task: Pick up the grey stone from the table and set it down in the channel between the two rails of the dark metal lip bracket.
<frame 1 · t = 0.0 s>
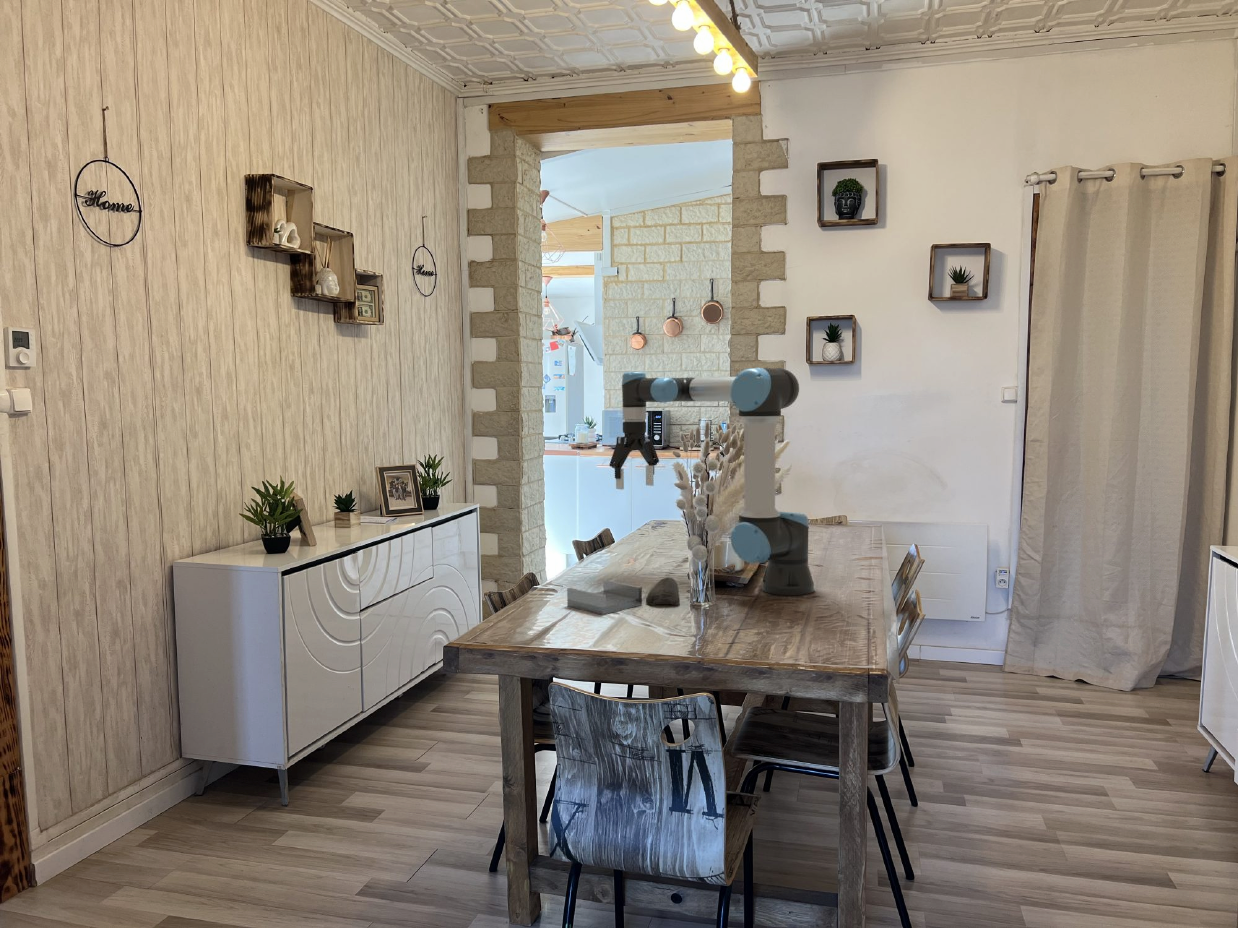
hand: (635, 487, 287), 28 cm above the table, fingers open, 13 cm apart
lip bracket: (604, 605, 248), on the table
stone: (664, 604, 250), on the table
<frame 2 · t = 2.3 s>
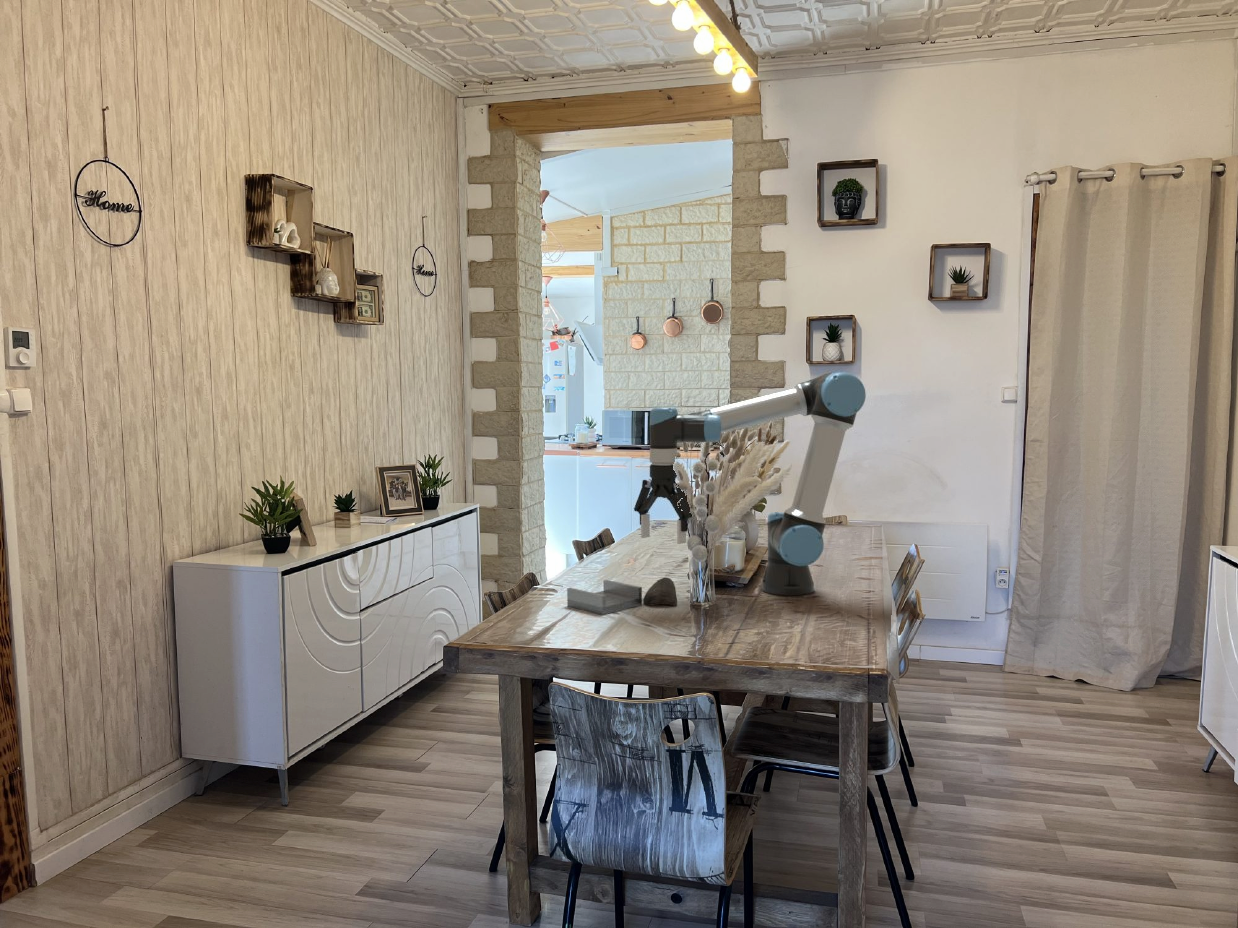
hand: (663, 540, 249), 18 cm above the table, fingers open, 13 cm apart
nothing on the table moved.
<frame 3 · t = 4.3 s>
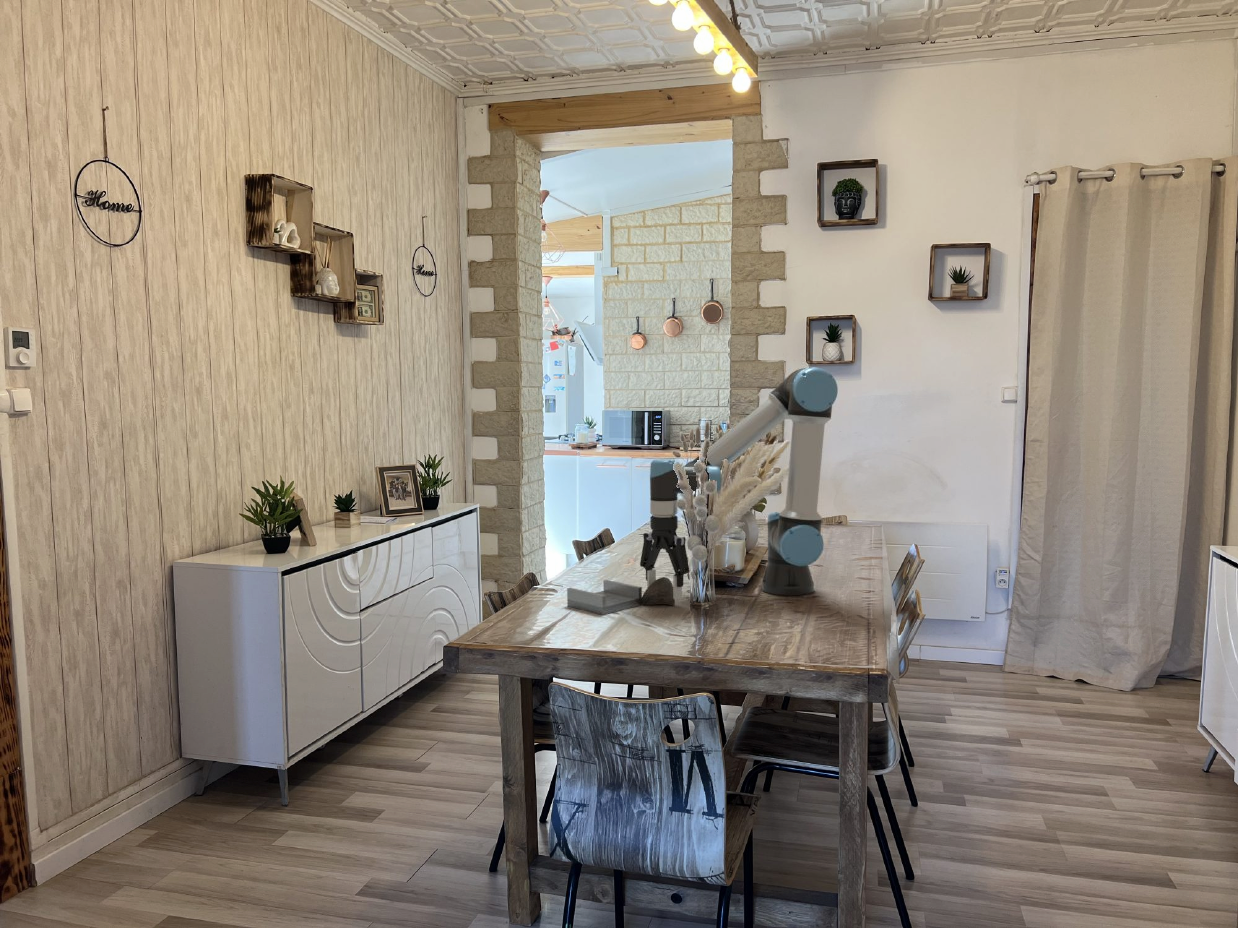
hand: (664, 595, 250), 2 cm above the table, fingers closed on stone, 9 cm apart
stone: (659, 604, 250), on the table, touching gripper
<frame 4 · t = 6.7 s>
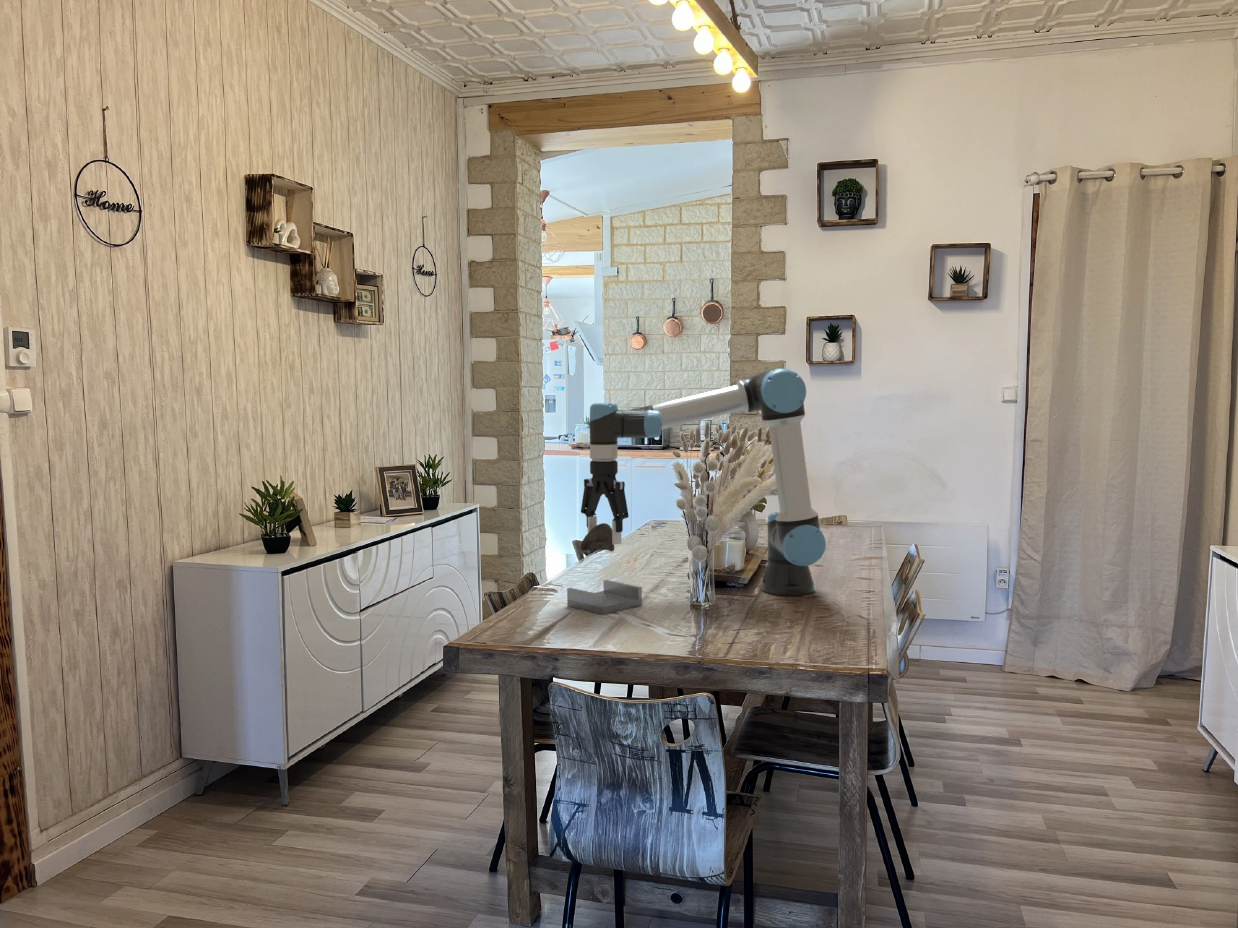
hand: (604, 541, 246), 18 cm above the table, fingers closed on stone, 9 cm apart
stone: (599, 550, 246), point 15 cm above the table, touching gripper
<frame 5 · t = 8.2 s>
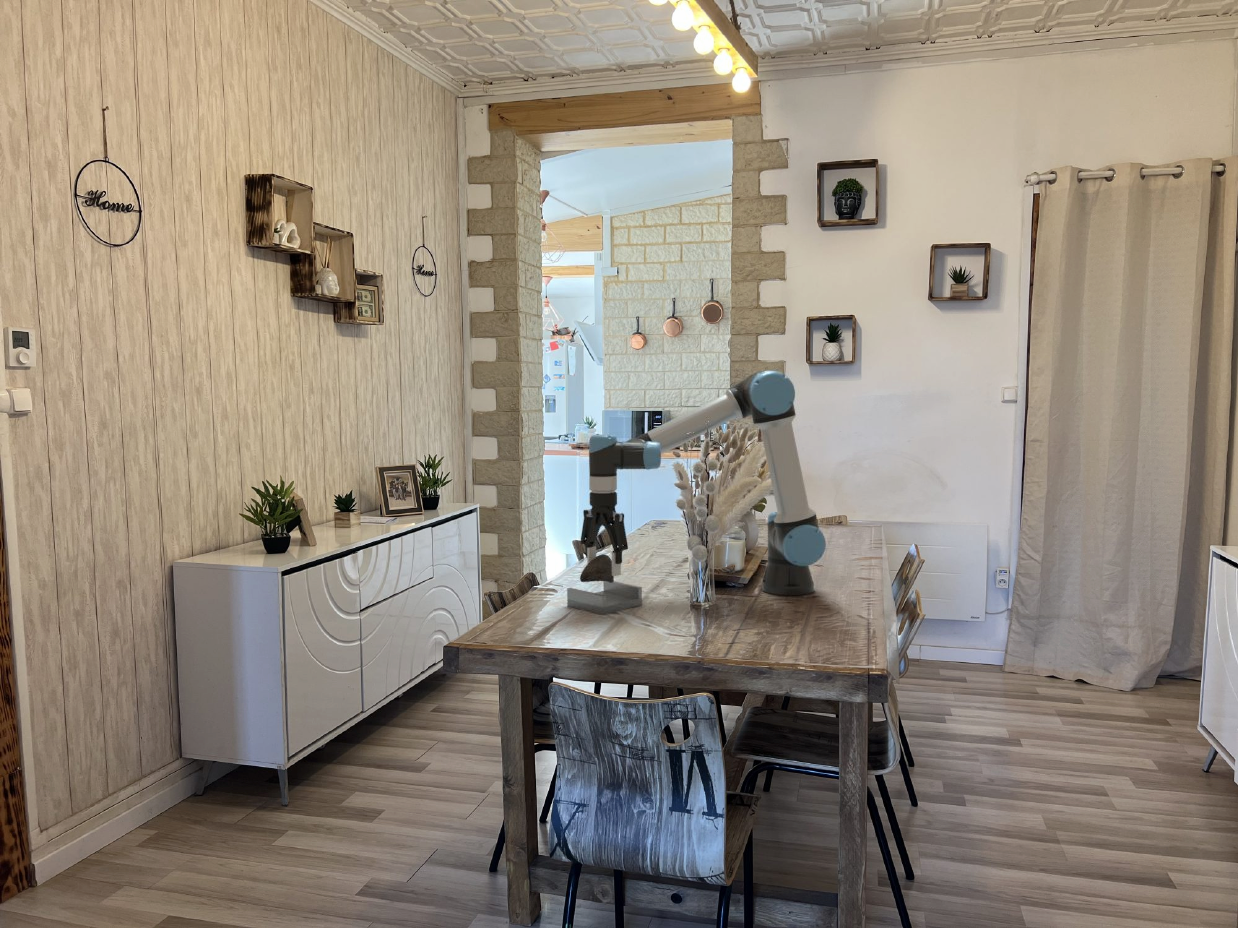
hand: (603, 572, 247), 9 cm above the table, fingers closed on stone, 9 cm apart
stone: (598, 581, 247), point 7 cm above the table, touching gripper
when the fingers open (6 cm above the table, at t = 9.4 s): stone stays where it is, resting on lip bracket.
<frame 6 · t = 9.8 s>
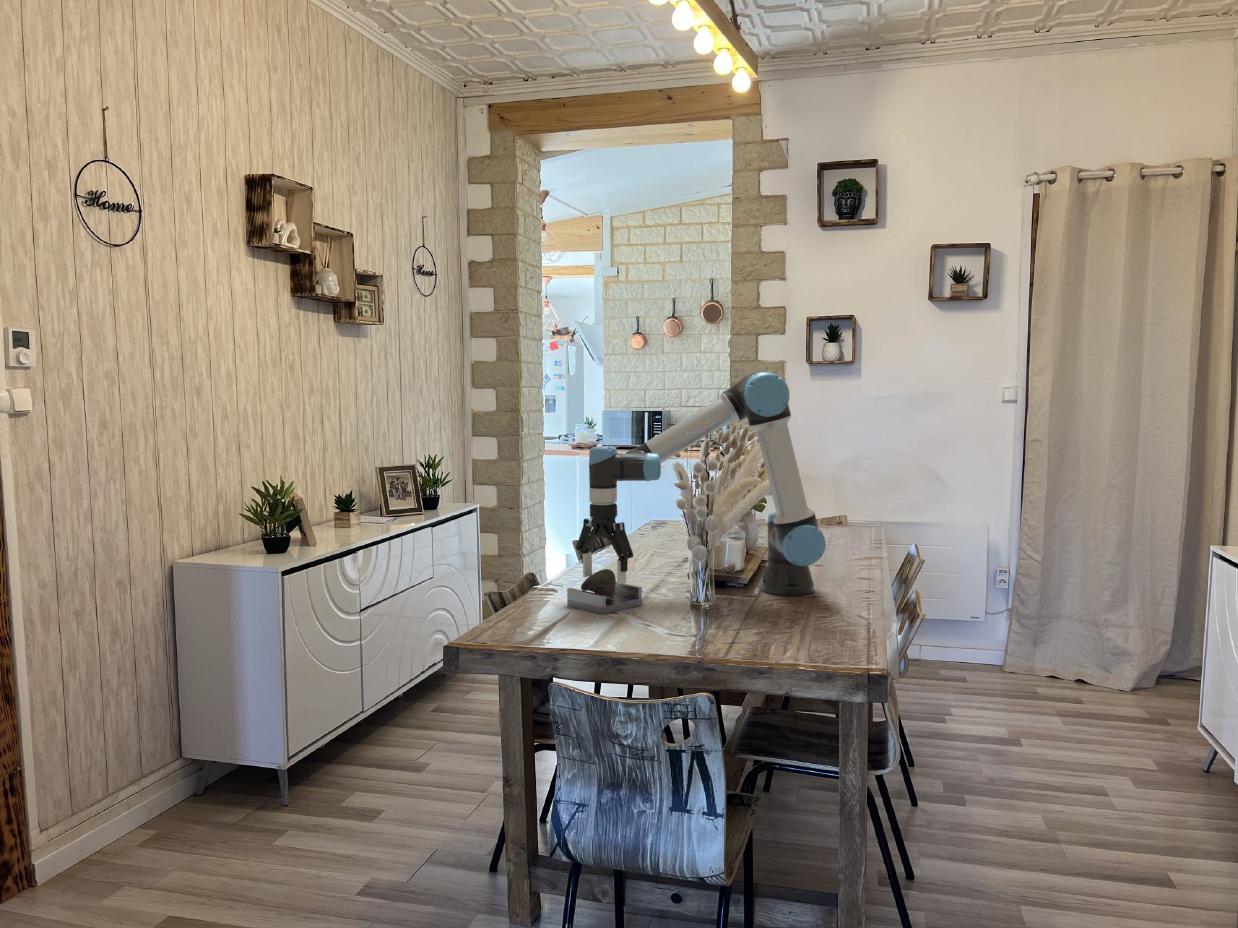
hand: (604, 579, 247), 7 cm above the table, fingers open, 13 cm apart
stone: (597, 594, 247), point 3 cm above the table, touching lip bracket
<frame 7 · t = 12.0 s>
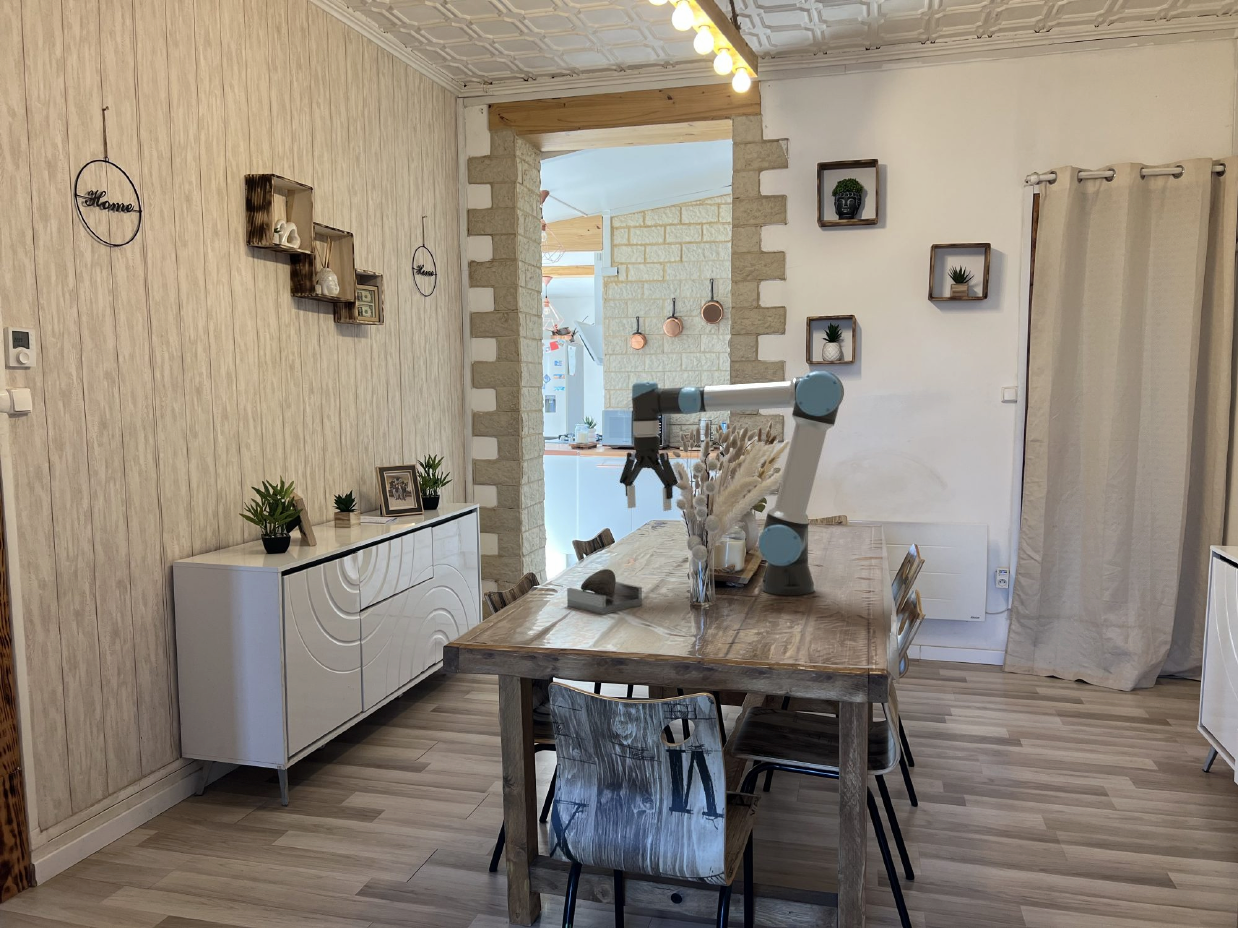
hand: (649, 509, 261), 25 cm above the table, fingers open, 13 cm apart
nothing on the table moved.
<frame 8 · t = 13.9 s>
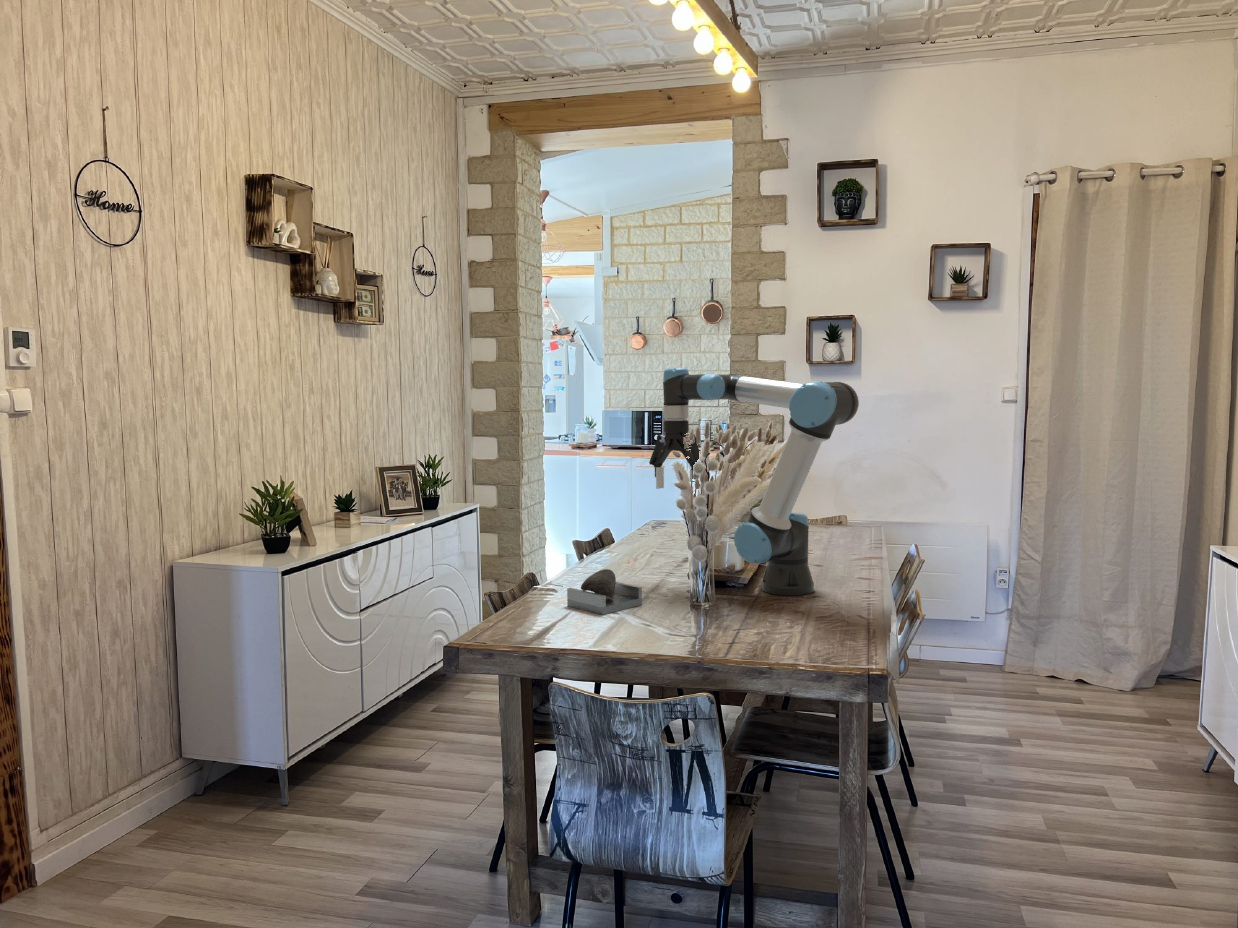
hand: (676, 490, 272), 29 cm above the table, fingers open, 13 cm apart
nothing on the table moved.
at the end: stone inside the target area on the lip bracket (1.9 cm from its centre), point 3.1 cm above the lip bracket's base; the gripper is holding nothing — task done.
